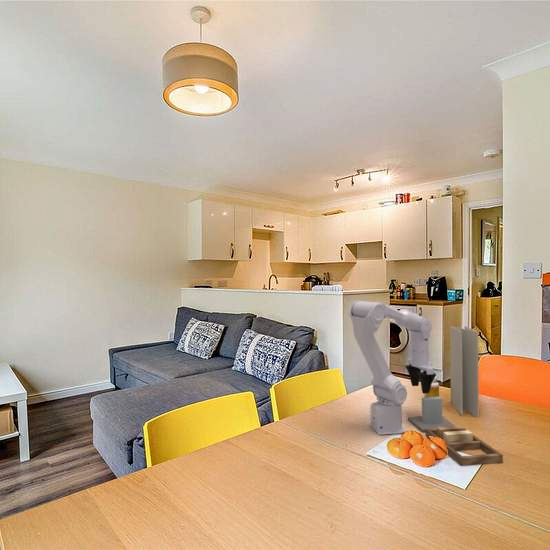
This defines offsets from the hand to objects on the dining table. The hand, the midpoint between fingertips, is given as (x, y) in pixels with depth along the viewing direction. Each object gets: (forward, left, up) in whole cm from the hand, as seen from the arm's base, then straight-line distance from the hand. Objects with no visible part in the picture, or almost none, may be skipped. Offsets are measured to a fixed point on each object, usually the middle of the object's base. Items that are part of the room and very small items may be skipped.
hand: (420, 389), depth 127 cm
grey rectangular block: (+1, -5, -9) cm, 11 cm away
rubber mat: (+1, -5, -10) cm, 12 cm away
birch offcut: (+1, -20, -11) cm, 22 cm away
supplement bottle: (+13, +16, -11) cm, 23 cm away
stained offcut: (+1, -16, -11) cm, 19 cm away
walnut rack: (+1, -21, -10) cm, 24 cm away
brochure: (+20, +6, -11) cm, 24 cm away
